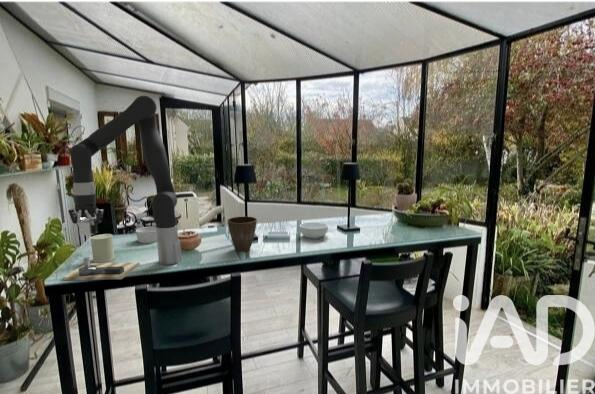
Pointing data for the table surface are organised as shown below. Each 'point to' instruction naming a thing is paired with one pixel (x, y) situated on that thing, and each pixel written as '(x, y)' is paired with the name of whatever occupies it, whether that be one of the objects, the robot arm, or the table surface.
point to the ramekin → (147, 234)
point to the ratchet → (97, 269)
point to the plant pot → (242, 232)
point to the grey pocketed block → (85, 227)
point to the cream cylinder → (102, 248)
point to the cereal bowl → (313, 229)
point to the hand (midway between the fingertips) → (88, 233)
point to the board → (127, 269)
